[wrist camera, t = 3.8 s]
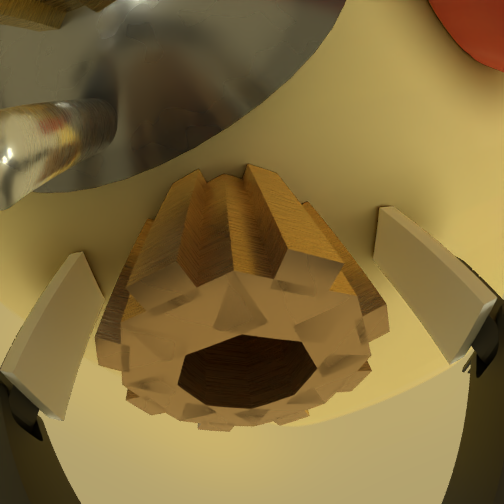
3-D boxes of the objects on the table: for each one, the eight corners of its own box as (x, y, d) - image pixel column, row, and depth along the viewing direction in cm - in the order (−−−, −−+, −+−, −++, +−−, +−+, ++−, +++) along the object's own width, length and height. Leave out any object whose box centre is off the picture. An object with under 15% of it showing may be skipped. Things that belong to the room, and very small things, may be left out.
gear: (111, 222, 10) (42, 333, 5) (276, 130, 9) (357, 173, 4) (203, 333, 13) (205, 442, 8) (335, 275, 12) (392, 378, 7)
